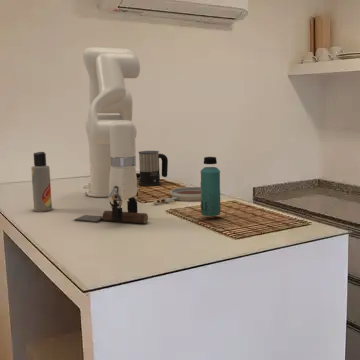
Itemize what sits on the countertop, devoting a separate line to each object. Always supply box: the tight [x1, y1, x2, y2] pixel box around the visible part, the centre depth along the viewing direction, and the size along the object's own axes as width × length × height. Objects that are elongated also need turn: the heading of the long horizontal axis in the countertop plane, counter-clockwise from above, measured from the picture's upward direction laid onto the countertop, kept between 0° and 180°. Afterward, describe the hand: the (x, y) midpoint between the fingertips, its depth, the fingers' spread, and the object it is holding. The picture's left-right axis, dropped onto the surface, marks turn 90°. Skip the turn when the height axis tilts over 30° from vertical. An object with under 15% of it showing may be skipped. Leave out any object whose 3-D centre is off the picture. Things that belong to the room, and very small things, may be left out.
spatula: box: [74, 210, 149, 225], centre depth 155 cm, size 23×6×3 cm, turn 75°
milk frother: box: [137, 150, 169, 187], centre depth 224 cm, size 14×16×15 cm
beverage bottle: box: [199, 156, 222, 217], centre depth 157 cm, size 6×7×20 cm
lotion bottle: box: [31, 151, 53, 213], centre depth 168 cm, size 6×6×20 cm
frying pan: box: [152, 186, 201, 206], centre depth 189 cm, size 17×3×28 cm
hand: (125, 216), depth 153 cm, fingers open, 9 cm apart
